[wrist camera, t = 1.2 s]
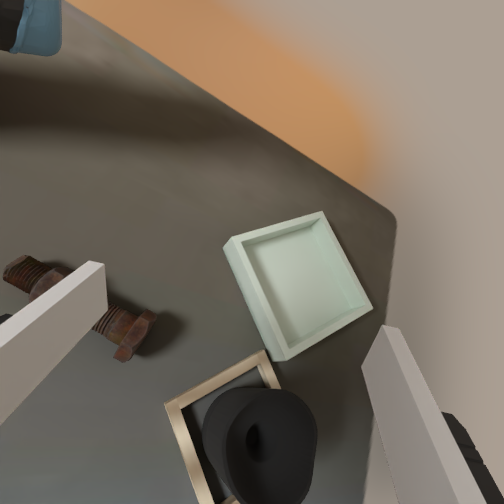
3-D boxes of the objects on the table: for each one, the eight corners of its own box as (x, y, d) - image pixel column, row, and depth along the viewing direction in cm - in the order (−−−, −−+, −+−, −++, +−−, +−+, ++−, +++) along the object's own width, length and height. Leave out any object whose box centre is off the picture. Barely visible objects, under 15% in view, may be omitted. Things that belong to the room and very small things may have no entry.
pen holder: (182, 417, 32) (203, 435, 23) (248, 368, 36) (286, 368, 28) (223, 499, 30) (261, 550, 22) (286, 437, 35) (338, 459, 26)
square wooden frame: (163, 402, 31) (165, 404, 30) (259, 350, 38) (264, 349, 36) (208, 529, 29) (212, 536, 28) (302, 450, 35) (309, 453, 34)
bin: (222, 248, 41) (231, 237, 38) (308, 221, 49) (322, 210, 46) (271, 361, 38) (286, 360, 34) (354, 313, 46) (373, 308, 43)
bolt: (31, 271, 33) (146, 336, 34) (-12, 298, 28) (122, 371, 30) (38, 235, 30) (163, 307, 31) (-8, 258, 25) (139, 341, 27)
